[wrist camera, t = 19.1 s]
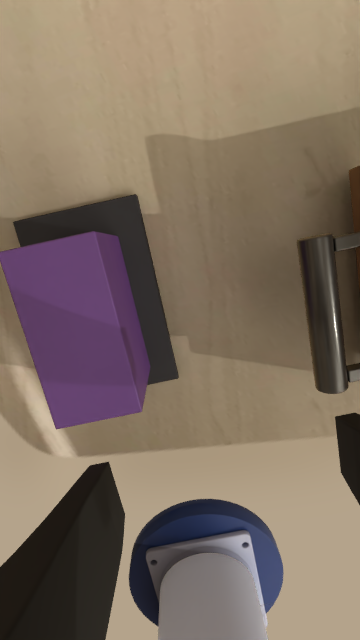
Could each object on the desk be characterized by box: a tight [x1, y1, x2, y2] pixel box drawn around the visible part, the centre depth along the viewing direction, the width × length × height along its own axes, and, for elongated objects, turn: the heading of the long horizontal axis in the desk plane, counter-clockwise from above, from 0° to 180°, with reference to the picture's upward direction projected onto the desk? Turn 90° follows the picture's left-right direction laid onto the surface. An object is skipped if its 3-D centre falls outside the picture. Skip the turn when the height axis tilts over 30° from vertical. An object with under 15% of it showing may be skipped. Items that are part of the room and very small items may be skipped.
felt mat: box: [13, 194, 178, 385], centre depth 19 cm, size 11×7×1 cm, turn 12°
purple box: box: [0, 231, 150, 429], centre depth 16 cm, size 4×8×6 cm, turn 12°
